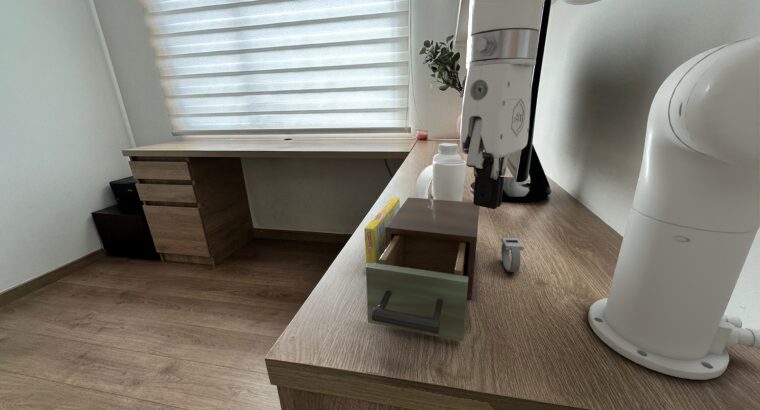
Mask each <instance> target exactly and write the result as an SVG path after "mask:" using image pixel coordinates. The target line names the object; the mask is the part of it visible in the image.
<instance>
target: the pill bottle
mask: <svg viewBox="0 0 760 410" xmlns="http://www.w3.org/2000/svg"><path fill="white" fill-rule="evenodd" d="M437 147H438V148H437V149H438V150H437V152H438V153H436V154H434V155H433V157H432V163H433V162H434V161H435V160H437V159H460V160H463V159H462V156H461V154H459V153H458V151H459V144H457V143H450V142H442V143H439V144H438V145H437ZM431 197H433V183H432V182H431Z"/></svg>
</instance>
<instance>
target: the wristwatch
mask: <svg viewBox="0 0 760 410" xmlns="http://www.w3.org/2000/svg"><path fill="white" fill-rule="evenodd" d="M500 240H501V243H502V244H501V261H502V265H503V268H504V269H505V271H506V272H508V273H518V272H519V271H520V269H521V252H520V251H524V250H525V247H524V245H523V243H521V241H520V239H519V238H517V237H501V238H500ZM510 254H511V255H510Z"/></svg>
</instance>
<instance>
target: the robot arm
mask: <svg viewBox="0 0 760 410" xmlns="http://www.w3.org/2000/svg"><path fill="white" fill-rule="evenodd" d="M561 1H562V2H563V3H566V4H567V5H572V6H584V5H589V4H594V3H598V2H600V1H601V0H561ZM543 6H544V0H469V10H468V26H467V28H468V29H467V43H466V44H467V45H466V61H465V70H467V73H466V78H465V84H464V89H463V91H464V92H463V98H462V105H461V106H462V107H461V115H460V131H459V146H460V151H461V152H462V153H463V154H465V155H467V158H466V162H467V163H466V164H467V167H468V168H473V177H474V184H473V185H474V187H473V201H472V202H473V203H474V205H476V206H479V207H482V208H486V209H491V210H496V209H497V208H499V207H501V206H502V202H503V193H504V183H505V175H506V173H507V167H508V161H509V158H510V157H511V156H512V155H513V154H515V153H517V152H521V151H522V150H523V149H525V148H526V147H527V145H528V141H529V131H530V120H531V119H530V117H531V105H532V67H535V66H536V63H537V54H538V47H539V38H540V31H541V22H542V13H543ZM629 210H630V211H629V215H628V218H627V222H626V225H625V229H624V233H623V238H622V240H621V245H620V250H619V252H618V257H617V261H616V264H615V269H614V273H613V276H612V279H611V284H610V288H609V291H608V296H607V297H604V298H601V299H598V300H596V301H594V302H593V303H592V304H591V306H590V307H589V310H588V314H587V321H588V323H589V326H590V328H591V330H593V332H594V333H595V335H596V336H597V337H598V338H599V339H600V340H601V341H602V342H603V343H605V344H606V345H607V346H608V347H609V348H610V349H612V350H613V351H615V352H616V353H618V354H620V355H621V356H622V357H624V358H626V359H628V360H629V361H632V362H633V363H635V364H638V365H640V366H643V367H644V368H646V369H649V370H652V371H654V372H658V373H660V374H664V375H667V376H672V377H675V378H681V379H687V380H688V379H689V380H703V381H704V380H711V379H715V378H719V377H720V376H722V375H724V373H725V371H726V370H727V368H728V365H729V362H730V356H729V352H728V350H727V348H726V347H730V348H734V347H736V346H738V345H739V346H744V347H745V346H746V347H748V348H753V349H754V348H755V349H759V350H760V329H756V328H752V327H751V328H750V327H743V321H742V319H741V318H740V317H738V316H734V315H728V314H725V312H726V310H727V309H728V308H727V307H728V305H729V303H730V300H731V298H732V295H733V293H734V290H735V289H736V285H737V283H738V281H739V278H740V275H741V273H742V270H743V269H744V268H743V267H744V265H745V264H746V261H747V258H748V255H749V253H750V251H751V248H752V245H753V243H754V240H755V239H756V235H757V233H758V230H760V35H757V36H753V37H748V38H744V39H741V40H736V41H734V42H729V43H726V44H722V45H719V46H716V47H713V48H710V49H708V50H705V51H703V52H701V53H699V54H696V55H695V56H693V57H691V58H690V59H688V60H686V61H685V62H683V63H682V64H681V65H679V66H678V67H677V68H675V70H673V71H672V72H671V73H670V74H669V75H668V76H667V77H666V78H665V80H664V81H663V82H662V83H661V85H660V86H659V88H658V89H657V92H656V93H655V95H654V97H653V100H652V102H651V105H650V108H649V112H648V116H647V122H646V131H645V139H644V145H643V154H642V159H641V164H640V169H639V175H638V180H637V184H636V187H635V191H634V196H633V199H632V204H631V206H630V209H629Z"/></svg>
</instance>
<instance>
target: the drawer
mask: <svg viewBox="0 0 760 410" xmlns="http://www.w3.org/2000/svg"><path fill="white" fill-rule="evenodd" d="M465 255H466V242H462V241H454V240H445V239H436V238H427V237H418V236H410V235H401V234H396V235H395V236H394V238H393V239H392V241H391V242H390V244H389V246H388V247H387V249H386V250H385V252H384V253H383V255H382V256H381V258H380V259H379V264H377V263H370V262H369V264H368V265H367V264H366V266H365V276H366V277H365V278H366V279H365V280H366V302H367V303H366V304H367V323H368V324H369V323H370V324H374V325H379V326H384V327H389V328H394V329H398V330H403V331H404V330H405V331H409V332H413V333H419V334H423V335H427V336H428V335H429V336H432V337H438V338H442V339H448V340H451V341H458V342H464V335H465V323H466V313H467V300H468V299H467V289H468V277H467V276H464V268H465Z"/></svg>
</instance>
